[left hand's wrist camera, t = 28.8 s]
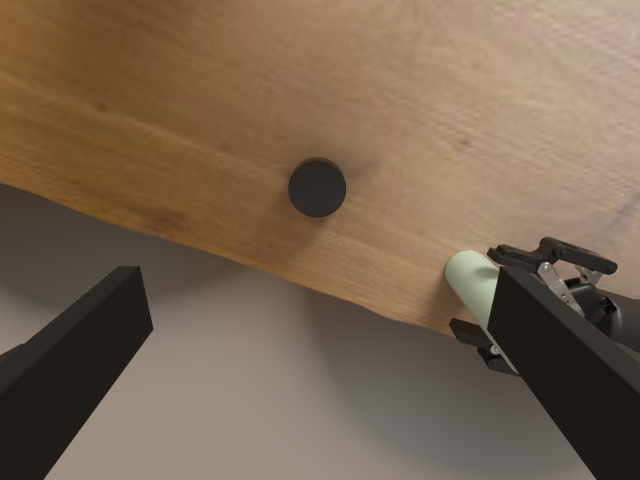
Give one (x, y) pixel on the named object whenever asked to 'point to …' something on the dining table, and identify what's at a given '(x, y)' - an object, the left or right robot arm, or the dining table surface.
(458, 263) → the jar
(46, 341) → the left robot arm
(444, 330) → the dining table surface
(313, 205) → the lid
